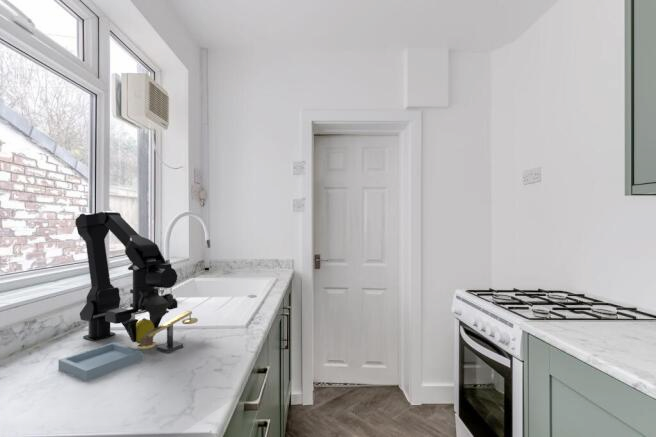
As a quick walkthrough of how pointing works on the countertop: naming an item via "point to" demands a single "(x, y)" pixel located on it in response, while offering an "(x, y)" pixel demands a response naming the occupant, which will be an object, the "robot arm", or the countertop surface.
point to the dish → (99, 361)
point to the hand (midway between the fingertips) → (143, 338)
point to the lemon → (143, 329)
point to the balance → (170, 345)
